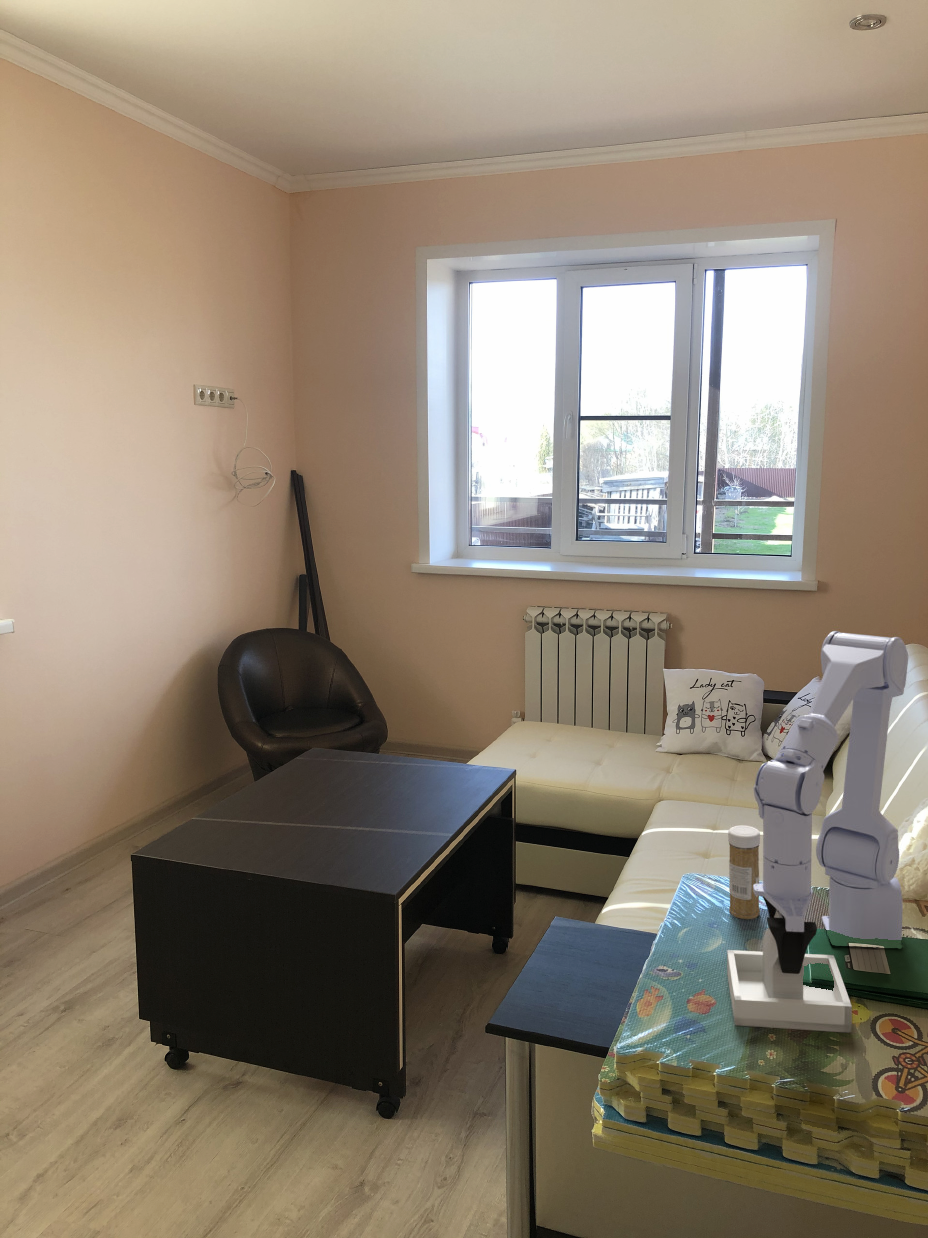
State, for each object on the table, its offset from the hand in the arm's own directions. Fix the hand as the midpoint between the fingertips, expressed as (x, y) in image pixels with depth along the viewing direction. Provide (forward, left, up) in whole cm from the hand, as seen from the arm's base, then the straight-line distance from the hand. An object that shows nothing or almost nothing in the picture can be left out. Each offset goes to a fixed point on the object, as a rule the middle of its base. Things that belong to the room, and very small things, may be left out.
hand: (786, 955), depth 120 cm
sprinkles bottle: (+3, -23, -7) cm, 24 cm away
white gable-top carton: (0, 0, -6) cm, 6 cm away
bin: (0, 0, -6) cm, 6 cm away
